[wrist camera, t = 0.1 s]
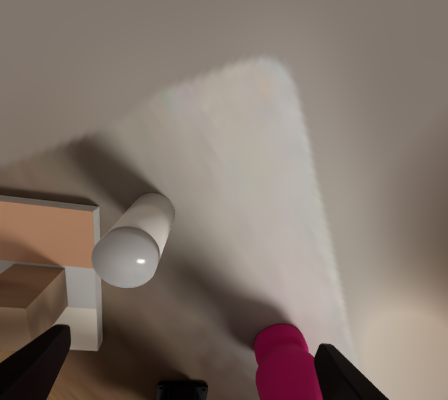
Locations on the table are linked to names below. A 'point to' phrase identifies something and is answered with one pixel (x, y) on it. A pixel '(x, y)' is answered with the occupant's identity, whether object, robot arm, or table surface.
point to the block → (29, 303)
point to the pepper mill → (285, 365)
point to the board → (58, 256)
